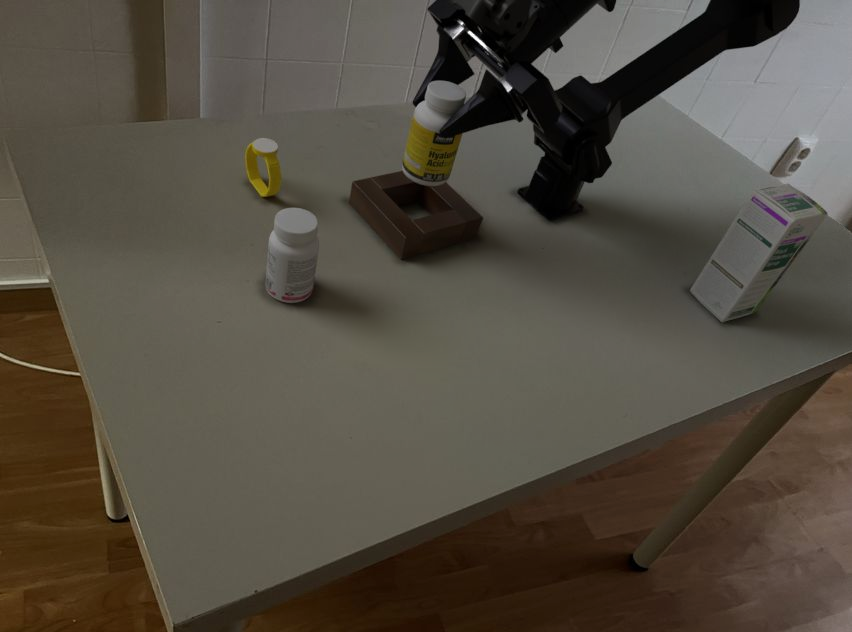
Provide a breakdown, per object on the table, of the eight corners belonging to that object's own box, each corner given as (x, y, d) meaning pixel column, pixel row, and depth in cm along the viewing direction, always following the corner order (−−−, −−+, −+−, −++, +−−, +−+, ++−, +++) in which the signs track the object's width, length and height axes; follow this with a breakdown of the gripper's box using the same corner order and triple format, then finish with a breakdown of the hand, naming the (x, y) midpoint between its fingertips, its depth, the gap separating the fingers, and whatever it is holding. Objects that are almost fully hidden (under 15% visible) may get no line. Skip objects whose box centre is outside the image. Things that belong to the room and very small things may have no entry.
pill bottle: (319, 282, 73) (330, 215, 67) (301, 310, 69) (310, 243, 63) (277, 266, 73) (284, 198, 67) (256, 293, 70) (261, 224, 64)
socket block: (422, 185, 89) (428, 165, 87) (476, 238, 83) (483, 217, 81) (348, 202, 83) (352, 181, 81) (400, 260, 78) (406, 238, 76)
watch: (238, 177, 83) (240, 131, 78) (259, 173, 84) (262, 127, 80) (262, 207, 80) (266, 160, 75) (284, 201, 81) (289, 156, 77)
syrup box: (722, 324, 81) (798, 221, 70) (686, 290, 84) (754, 187, 74) (754, 314, 83) (832, 213, 73) (718, 281, 86) (788, 180, 76)
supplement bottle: (420, 192, 75) (442, 107, 68) (391, 164, 78) (409, 80, 71) (459, 182, 78) (483, 99, 71) (429, 155, 80) (450, 73, 73)
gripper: (466, -95, 68) (346, 24, 71) (583, -13, 58) (437, 123, 61) (508, -10, 77) (400, 92, 80) (616, 74, 67) (487, 188, 70)
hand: (427, 120), depth 73 cm, fingers closed on supplement bottle, 5 cm apart
